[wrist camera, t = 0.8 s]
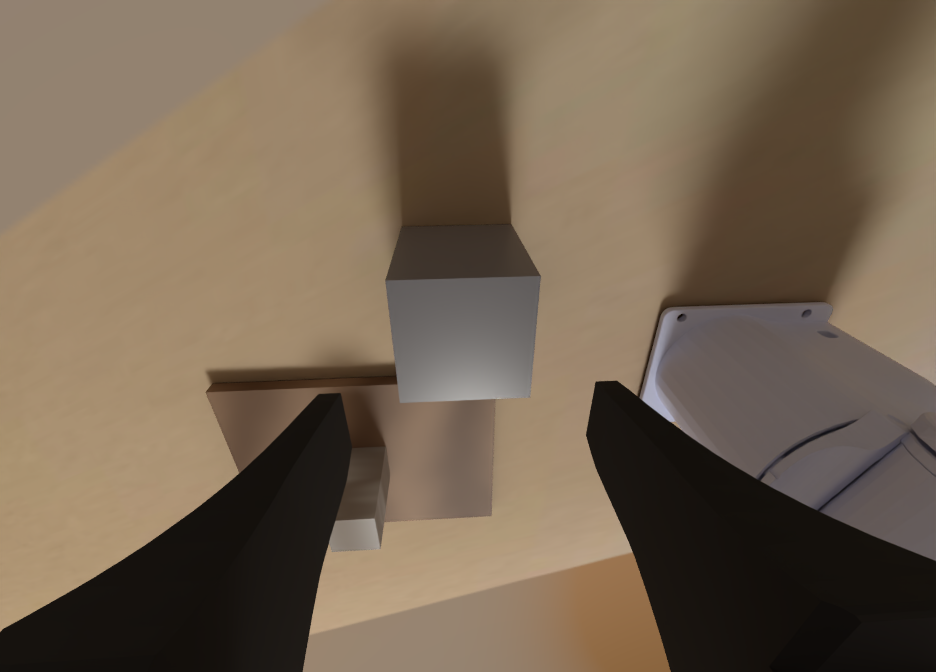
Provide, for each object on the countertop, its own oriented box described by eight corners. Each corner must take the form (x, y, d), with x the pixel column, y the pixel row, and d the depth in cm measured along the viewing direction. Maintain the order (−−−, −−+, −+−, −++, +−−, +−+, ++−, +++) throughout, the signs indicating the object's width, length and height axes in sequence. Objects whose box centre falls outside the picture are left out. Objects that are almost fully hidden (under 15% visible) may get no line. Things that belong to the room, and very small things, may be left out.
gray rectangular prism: (511, 224, 19) (540, 276, 14) (506, 320, 22) (530, 397, 16) (401, 226, 19) (385, 280, 13) (410, 323, 22) (400, 402, 16)
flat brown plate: (494, 372, 24) (508, 445, 19) (490, 506, 30) (500, 588, 25) (212, 383, 23) (149, 462, 18) (267, 518, 29) (231, 606, 24)
